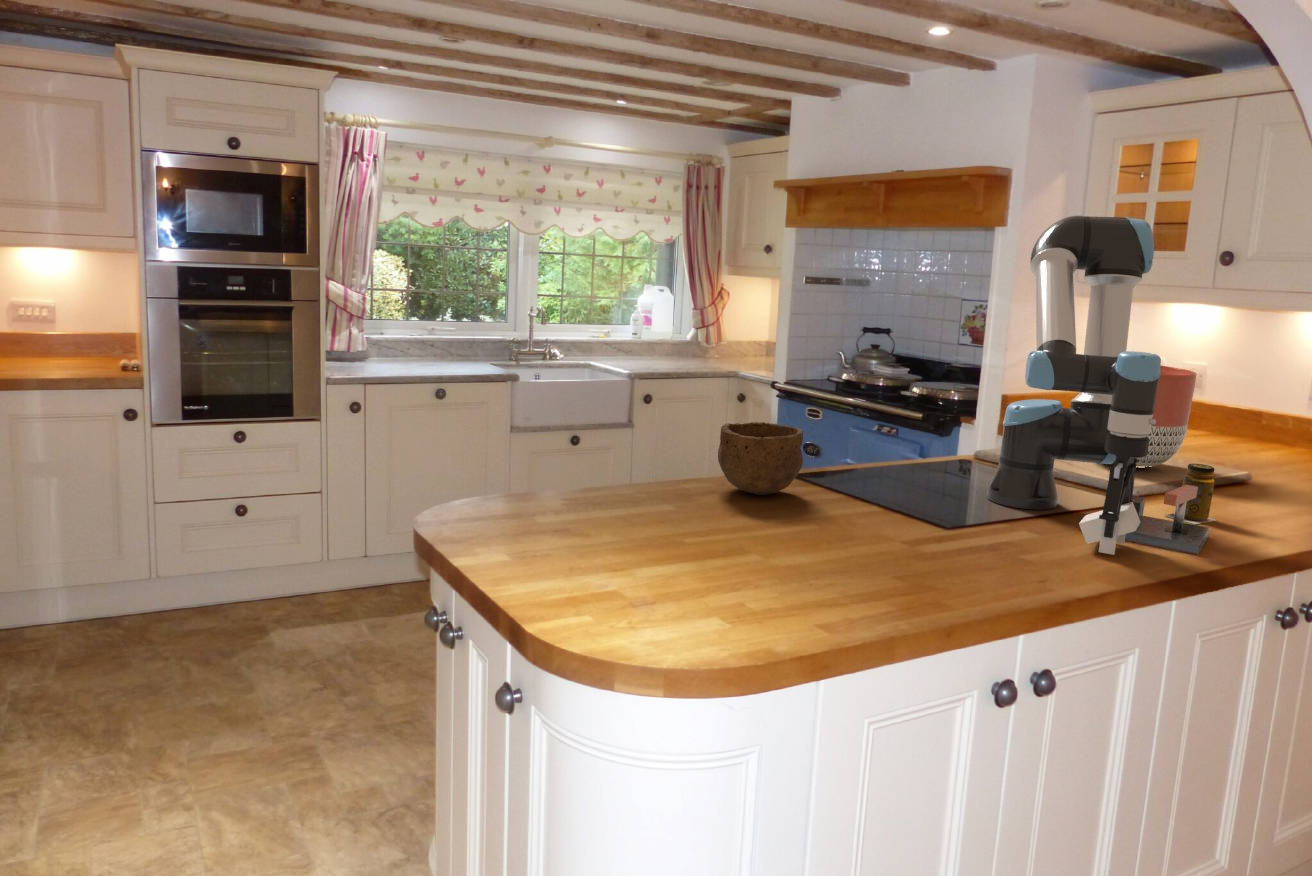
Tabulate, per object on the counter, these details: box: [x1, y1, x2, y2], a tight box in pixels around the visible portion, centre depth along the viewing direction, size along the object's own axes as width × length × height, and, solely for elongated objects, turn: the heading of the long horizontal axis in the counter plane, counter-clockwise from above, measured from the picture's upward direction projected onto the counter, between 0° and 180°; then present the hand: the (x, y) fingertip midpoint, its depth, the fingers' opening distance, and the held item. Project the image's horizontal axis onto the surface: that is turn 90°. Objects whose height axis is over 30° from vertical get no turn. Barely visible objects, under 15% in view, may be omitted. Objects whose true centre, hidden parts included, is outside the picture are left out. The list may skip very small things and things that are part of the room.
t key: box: [1163, 485, 1198, 531], centre depth 202 cm, size 12×2×8 cm, turn 135°
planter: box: [1136, 365, 1198, 467], centre depth 273 cm, size 27×27×27 cm
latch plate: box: [1125, 495, 1210, 556], centre depth 206 cm, size 20×16×7 cm
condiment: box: [1164, 462, 1216, 525], centre depth 221 cm, size 7×8×12 cm
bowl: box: [717, 421, 804, 496], centre depth 224 cm, size 19×19×15 cm
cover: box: [1078, 502, 1140, 545], centre depth 195 cm, size 9×9×4 cm
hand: (1111, 546), depth 195 cm, fingers closed on cover, 9 cm apart
